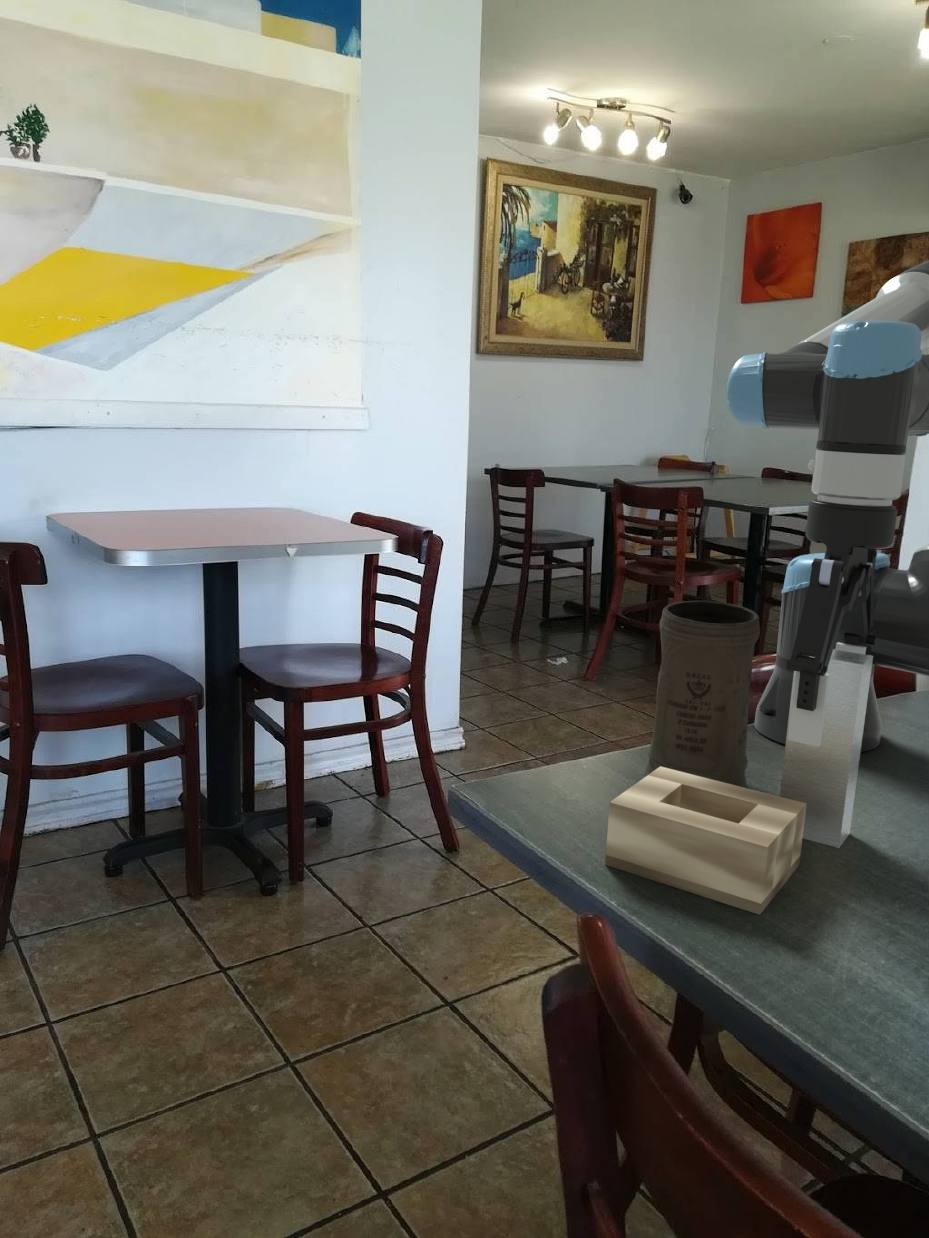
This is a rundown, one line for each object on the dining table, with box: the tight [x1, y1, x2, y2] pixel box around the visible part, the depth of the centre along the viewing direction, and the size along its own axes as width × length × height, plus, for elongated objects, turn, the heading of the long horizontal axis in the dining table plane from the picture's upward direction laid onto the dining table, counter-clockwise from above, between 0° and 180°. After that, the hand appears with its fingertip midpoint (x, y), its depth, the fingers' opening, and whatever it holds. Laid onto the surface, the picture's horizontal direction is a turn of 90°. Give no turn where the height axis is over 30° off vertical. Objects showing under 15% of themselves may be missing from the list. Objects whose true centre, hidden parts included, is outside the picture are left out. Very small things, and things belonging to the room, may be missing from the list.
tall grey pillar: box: [779, 649, 873, 849], centre depth 94 cm, size 4×6×18 cm, turn 56°
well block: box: [604, 766, 807, 916], centre depth 88 cm, size 11×14×6 cm
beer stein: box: [643, 600, 761, 789], centre depth 105 cm, size 15×11×20 cm
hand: (824, 724), depth 93 cm, fingers open, 13 cm apart
